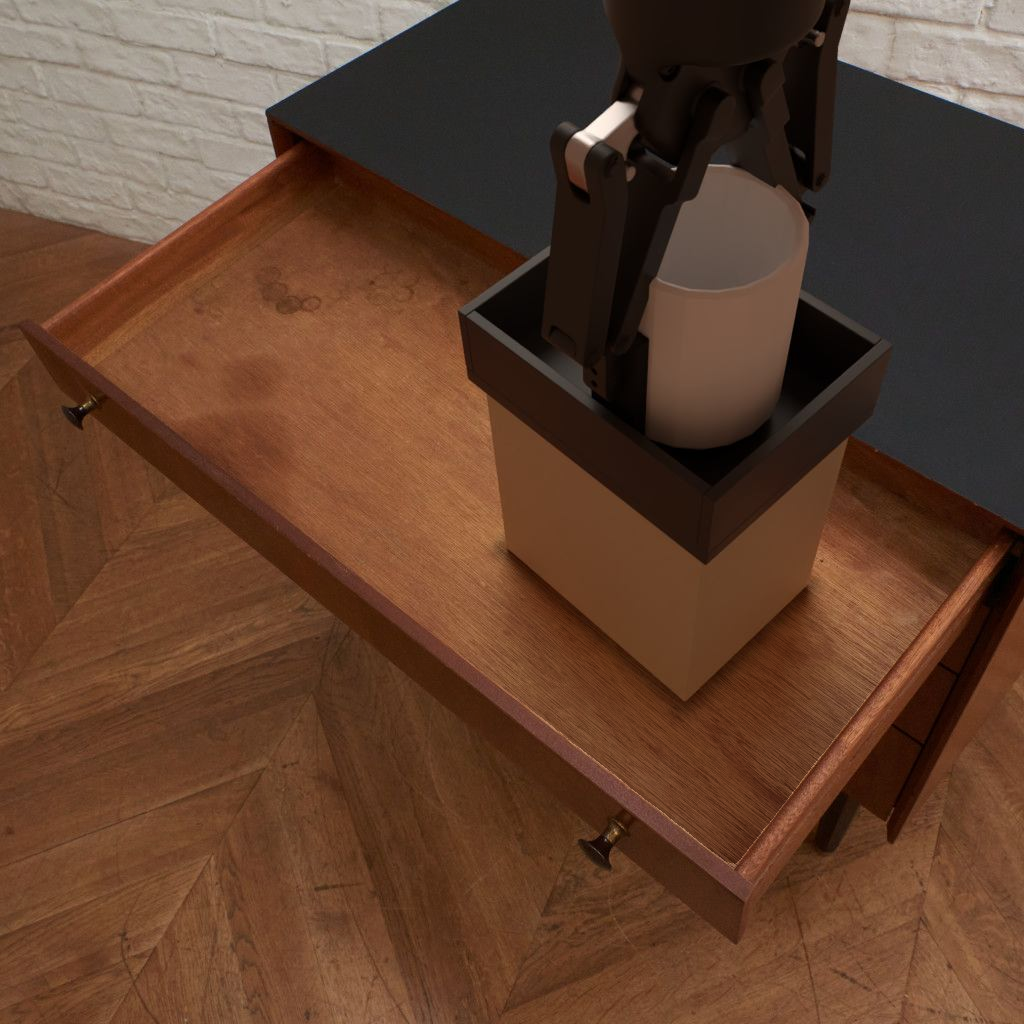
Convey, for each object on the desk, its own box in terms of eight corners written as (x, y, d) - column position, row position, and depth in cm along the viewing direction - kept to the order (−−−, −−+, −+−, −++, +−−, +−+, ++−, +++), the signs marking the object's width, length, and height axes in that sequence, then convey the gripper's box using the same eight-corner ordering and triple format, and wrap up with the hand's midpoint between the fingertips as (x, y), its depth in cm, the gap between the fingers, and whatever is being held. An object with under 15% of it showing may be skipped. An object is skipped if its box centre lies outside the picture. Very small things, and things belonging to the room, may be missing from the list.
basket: (873, 415, 56) (894, 344, 52) (705, 566, 52) (714, 503, 48) (631, 258, 63) (633, 185, 59) (467, 379, 59) (456, 310, 55)
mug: (624, 264, 60) (627, 101, 52) (813, 379, 55) (850, 217, 46) (516, 350, 57) (501, 191, 49) (705, 480, 52) (723, 326, 44)
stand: (808, 584, 69) (855, 415, 56) (684, 702, 65) (704, 550, 52) (627, 448, 76) (631, 268, 63) (506, 547, 72) (483, 379, 59)
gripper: (833, -256, 42) (763, 227, 60) (392, -7, 34) (468, 455, 53) (1015, -195, 38) (881, 297, 57) (568, 96, 31) (583, 550, 50)
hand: (682, 373), depth 55 cm, fingers closed on mug, 8 cm apart
